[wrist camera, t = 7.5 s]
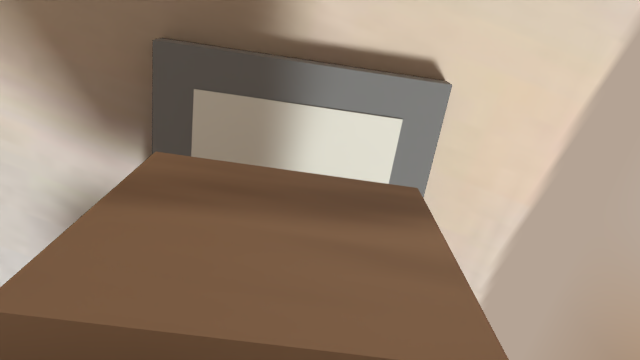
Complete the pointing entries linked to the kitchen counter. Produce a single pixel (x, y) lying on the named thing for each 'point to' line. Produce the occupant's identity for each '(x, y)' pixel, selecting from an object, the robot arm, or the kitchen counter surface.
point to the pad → (295, 113)
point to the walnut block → (246, 273)
